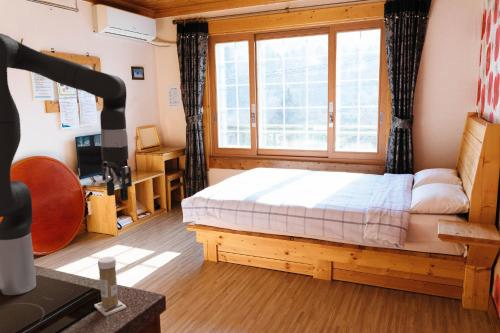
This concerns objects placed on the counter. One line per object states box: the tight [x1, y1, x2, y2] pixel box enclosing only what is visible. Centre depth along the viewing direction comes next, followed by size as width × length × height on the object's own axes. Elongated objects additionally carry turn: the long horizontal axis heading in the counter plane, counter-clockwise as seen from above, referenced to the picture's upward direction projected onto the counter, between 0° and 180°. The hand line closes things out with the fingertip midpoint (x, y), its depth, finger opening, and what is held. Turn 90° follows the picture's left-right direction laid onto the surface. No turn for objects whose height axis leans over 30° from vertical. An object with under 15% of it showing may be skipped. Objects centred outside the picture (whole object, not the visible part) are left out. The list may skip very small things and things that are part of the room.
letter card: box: [94, 299, 127, 317], centre depth 111 cm, size 7×6×1 cm
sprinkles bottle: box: [97, 256, 119, 308], centre depth 110 cm, size 5×5×14 cm
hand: (117, 197), depth 120 cm, fingers open, 8 cm apart
